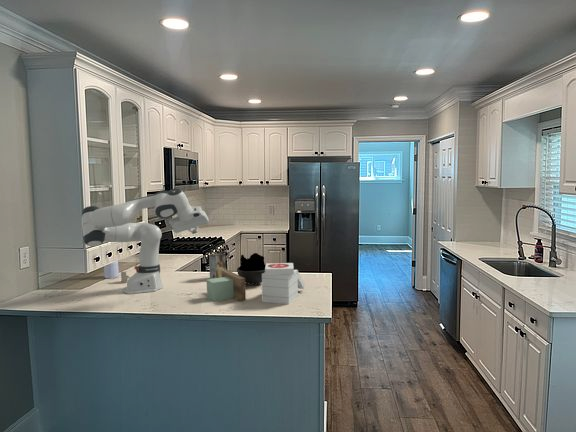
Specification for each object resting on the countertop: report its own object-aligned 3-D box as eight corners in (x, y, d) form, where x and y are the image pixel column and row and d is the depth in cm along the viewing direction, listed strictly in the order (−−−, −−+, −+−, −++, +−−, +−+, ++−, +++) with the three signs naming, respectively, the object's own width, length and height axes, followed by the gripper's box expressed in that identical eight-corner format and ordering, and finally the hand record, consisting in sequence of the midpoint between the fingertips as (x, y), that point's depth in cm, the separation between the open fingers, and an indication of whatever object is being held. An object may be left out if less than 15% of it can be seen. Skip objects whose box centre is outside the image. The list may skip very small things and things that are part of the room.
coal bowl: (273, 280, 275) (272, 251, 273) (265, 289, 255) (265, 257, 253) (242, 279, 278) (241, 250, 276) (233, 287, 259) (232, 256, 257)
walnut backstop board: (240, 301, 231) (240, 279, 229) (222, 290, 253) (221, 270, 252) (245, 300, 232) (245, 278, 231) (226, 289, 254) (226, 269, 253)
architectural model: (126, 281, 281) (125, 270, 280) (132, 283, 276) (131, 271, 276) (121, 282, 278) (120, 271, 277) (127, 284, 274) (126, 272, 273)
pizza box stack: (308, 290, 250) (307, 259, 248) (290, 305, 222) (290, 270, 220) (277, 288, 257) (276, 258, 255) (256, 302, 228) (255, 268, 227)
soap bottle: (116, 274, 298) (114, 239, 296) (120, 277, 291) (119, 240, 289) (102, 277, 292) (100, 240, 290) (107, 279, 285) (105, 242, 283)
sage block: (213, 301, 232) (212, 282, 231) (207, 297, 240) (206, 279, 239) (233, 297, 238) (233, 279, 237) (227, 294, 246) (226, 276, 245)
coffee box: (219, 276, 288) (219, 252, 286) (226, 278, 284) (225, 253, 282) (209, 279, 281) (208, 254, 279) (216, 280, 277) (215, 255, 275)
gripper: (167, 223, 236) (177, 241, 244) (203, 211, 236) (212, 230, 244) (167, 216, 241) (177, 234, 249) (203, 205, 241) (211, 224, 249)
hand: (195, 232), depth 247 cm, fingers closed
